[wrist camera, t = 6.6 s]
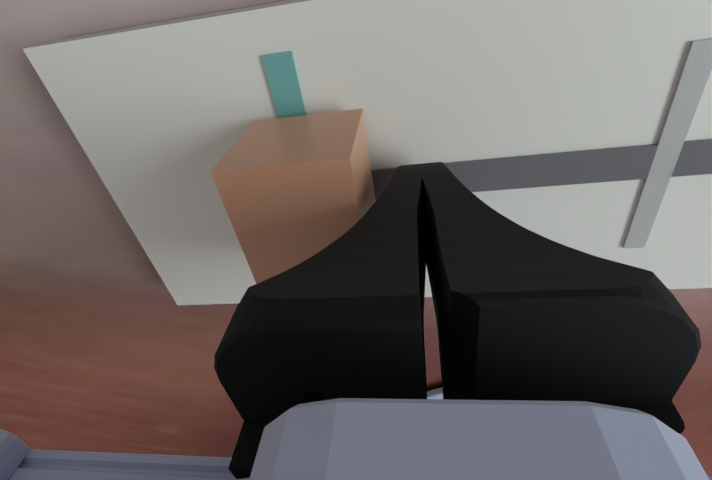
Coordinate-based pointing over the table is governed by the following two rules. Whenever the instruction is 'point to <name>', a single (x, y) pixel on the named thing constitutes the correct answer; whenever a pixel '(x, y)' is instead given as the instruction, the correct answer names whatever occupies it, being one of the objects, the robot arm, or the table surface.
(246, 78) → the fader board
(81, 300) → the table surface
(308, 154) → the block
